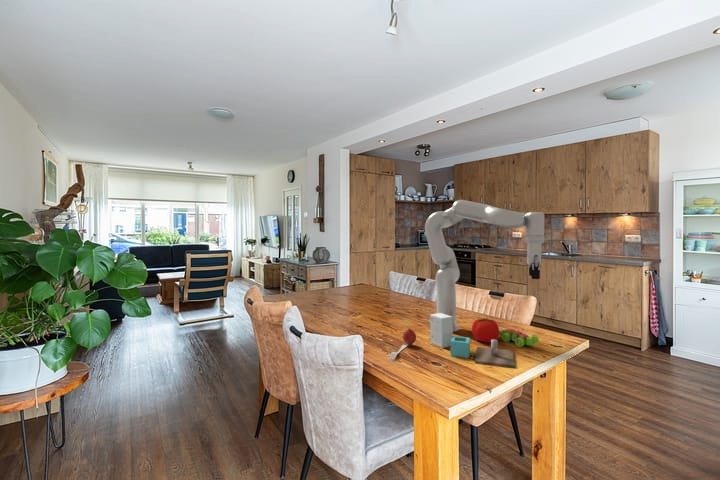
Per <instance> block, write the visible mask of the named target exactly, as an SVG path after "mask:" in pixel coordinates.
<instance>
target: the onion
mask: <svg viewBox="0 0 720 480" xmlns="http://www.w3.org/2000/svg"><path fill="white" fill-rule="evenodd" d="M402 338H403V339H402V340H403V341H404V343H406V345H408V347H410V346H412V345H413V344H414V343H415V342H416V341H417V334H416V333H415V331H414V330H412V328H411V327H408V328H407V329H406V330H405V331H404V333H403V335H402Z"/></svg>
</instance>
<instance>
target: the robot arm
mask: <svg viewBox="0 0 720 480" xmlns="http://www.w3.org/2000/svg"><path fill="white" fill-rule="evenodd" d="M464 219H468V220H473V221H476V222H480V223H483V224H484V223H485V224H491V225H496V226H497V225H498V226H501V227H505V228H509V229H522V228H525V230H524V231H525V240H524V241H525V243H526V244H527V248H526V249H527V250H526V264H527V265H528V266H529V267H528V276H530V277H531V279H532V280H540V279H541V270H540V268H541V267H540V266H541V264H542V244H545V213H544V212H543V211H529V212H519V211H515V210H509V209H504V208H499V207H496V206H492V205H490V204H486V203H480V202H474V201H470V200H465V199H458V200H456V201H455V202H453V204H452V205H451V207H450V208H449V209H446V210H445V211H441V210H439V211H436V212H434V213H433V212H432V214H431V215H429V216H428V218H427V219H426V221H425V223H424V233H425V236H426V241H427V244H428V248H429V252H430V255H431V259H432V262H433V263H434V264H435V265H439V269H438V270H437V271H436V274H435V286H436V287H435V289H436V314H437V313H443V314H446V315H449V316H452V319H453V333H454V332H458V331H460V326H459V325H457V291H456V289H457V288H456V283H457V282H458V280H459V279H460V275H461V273H460V268H459V265H458V262H457V257H456V254H455V252H454V250H453V249H452V248H451V247H450V246H448V245H447V244H446V240H445V236H444V233H443V230H442V229H446V228H449V227H451V226H453V225H455V224H457V223H459V222H461V221H462V220H464ZM428 323H429V324H430V318H428Z"/></svg>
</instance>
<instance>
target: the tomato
mask: <svg viewBox="0 0 720 480" xmlns="http://www.w3.org/2000/svg"><path fill="white" fill-rule="evenodd" d="M499 330H500V328H499V325H498V322H496V321H495V320H494V319H491V318H489V319H488V317H487V318H478V319H476V320H474V321H473V323H472V325H471V333H472V335H473V337H474V338H475V340H477V341H479V342H482V343H491V340H492V339H495V340H498V338H499V337H500V336H499Z"/></svg>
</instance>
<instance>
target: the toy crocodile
mask: <svg viewBox="0 0 720 480" xmlns="http://www.w3.org/2000/svg"><path fill="white" fill-rule="evenodd" d="M498 337H501V339H502V340H503V342H506V343H508V342H510V341H511V340H512V341H513V342H514V344H515V346H516V347H519V348H523V347H524V346H525V345H526V346H534V345H536V344H538V343H539V337H538V335H537V334H535V333H533V334H532V335H531V336H529V335H527V334H526V333H523V332H522V331H519V330H516V329H511V328H506V329H499V336H498Z"/></svg>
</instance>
